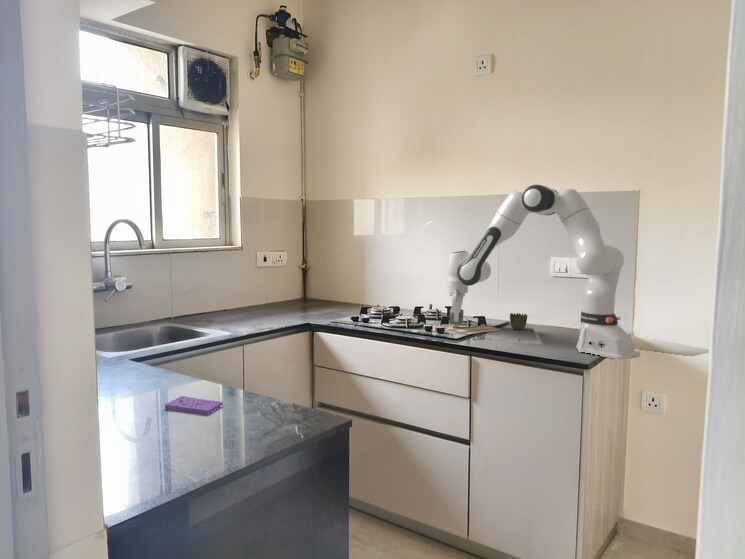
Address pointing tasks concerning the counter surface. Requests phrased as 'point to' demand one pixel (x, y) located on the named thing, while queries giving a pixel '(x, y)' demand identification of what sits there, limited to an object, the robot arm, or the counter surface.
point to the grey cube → (460, 319)
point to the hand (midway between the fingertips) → (456, 320)
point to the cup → (518, 321)
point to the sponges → (193, 405)
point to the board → (471, 329)
